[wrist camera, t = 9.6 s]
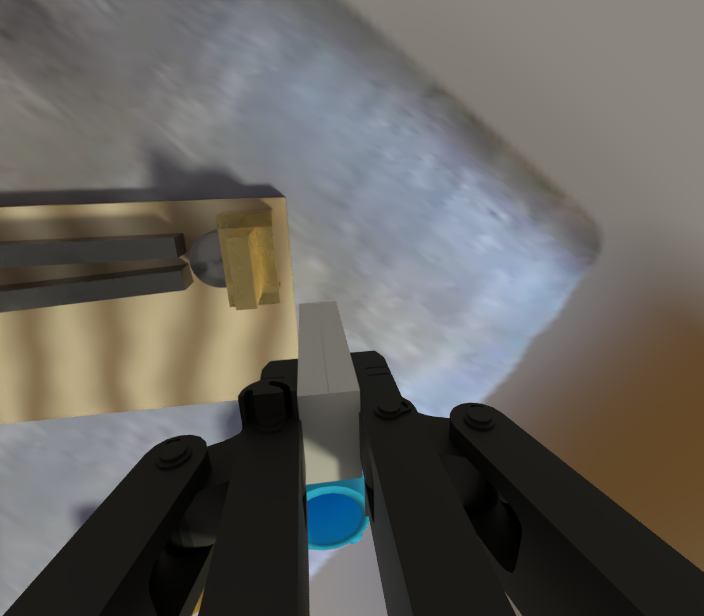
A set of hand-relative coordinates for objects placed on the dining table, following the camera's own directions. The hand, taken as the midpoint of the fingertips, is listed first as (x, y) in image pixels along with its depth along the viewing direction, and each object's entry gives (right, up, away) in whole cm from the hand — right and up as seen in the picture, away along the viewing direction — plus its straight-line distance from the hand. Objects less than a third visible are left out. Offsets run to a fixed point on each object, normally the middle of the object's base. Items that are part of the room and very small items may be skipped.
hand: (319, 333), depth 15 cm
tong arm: (-24, +3, +14) cm, 28 cm away
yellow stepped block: (-7, +6, +16) cm, 18 cm away
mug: (-1, -18, +27) cm, 32 cm away
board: (-20, +1, +17) cm, 27 cm away
